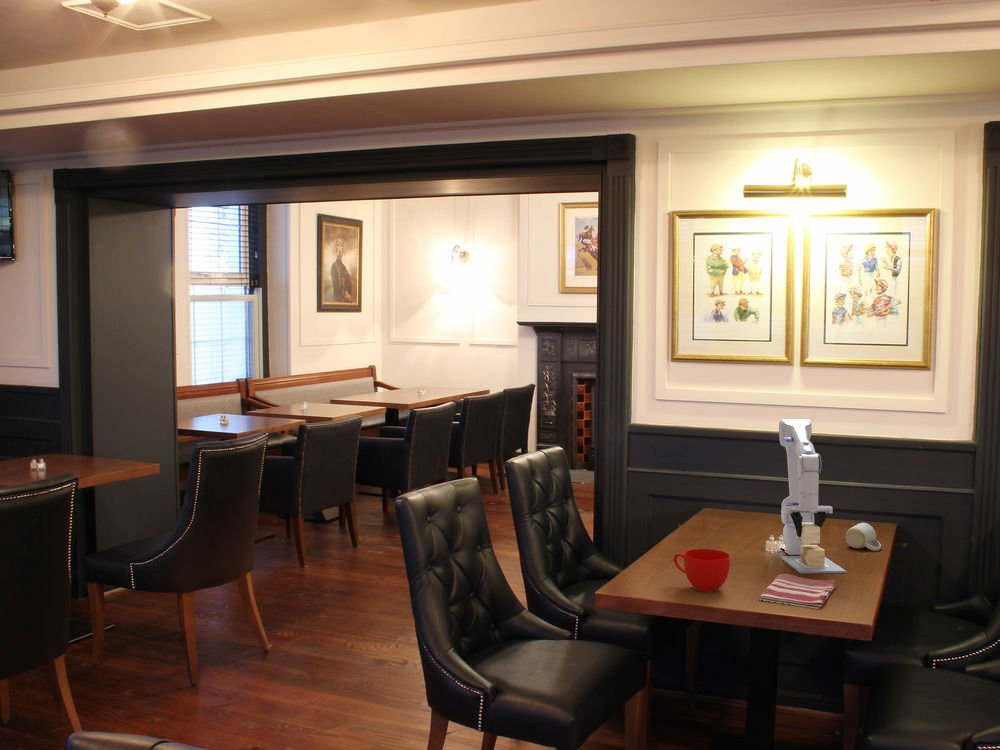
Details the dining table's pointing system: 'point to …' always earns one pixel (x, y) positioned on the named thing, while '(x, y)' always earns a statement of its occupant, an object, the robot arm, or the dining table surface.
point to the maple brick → (812, 555)
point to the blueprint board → (803, 568)
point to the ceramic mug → (862, 537)
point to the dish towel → (798, 591)
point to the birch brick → (809, 533)
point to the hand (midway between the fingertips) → (807, 536)
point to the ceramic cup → (705, 568)
